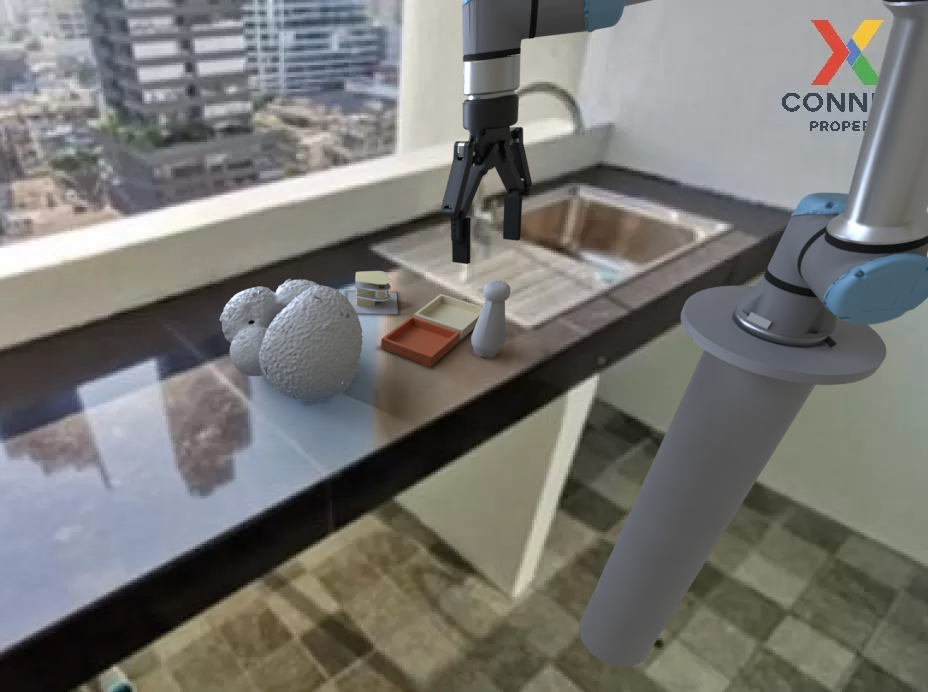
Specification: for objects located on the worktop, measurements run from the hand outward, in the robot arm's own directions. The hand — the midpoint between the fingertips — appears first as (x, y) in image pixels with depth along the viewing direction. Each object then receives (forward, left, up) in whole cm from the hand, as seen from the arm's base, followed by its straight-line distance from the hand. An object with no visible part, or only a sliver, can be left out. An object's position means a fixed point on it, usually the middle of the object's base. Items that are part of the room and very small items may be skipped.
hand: (487, 250), depth 94 cm
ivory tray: (+9, -8, -19) cm, 23 cm away
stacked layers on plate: (+25, -5, -19) cm, 32 cm away
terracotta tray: (+9, +3, -19) cm, 21 cm away
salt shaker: (-2, -2, -19) cm, 20 cm away
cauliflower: (+20, +24, -19) cm, 36 cm away
